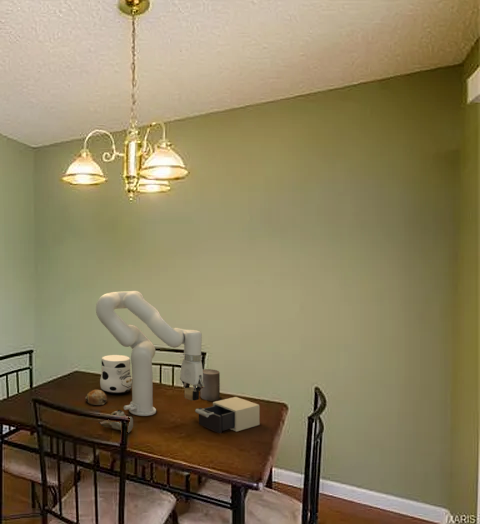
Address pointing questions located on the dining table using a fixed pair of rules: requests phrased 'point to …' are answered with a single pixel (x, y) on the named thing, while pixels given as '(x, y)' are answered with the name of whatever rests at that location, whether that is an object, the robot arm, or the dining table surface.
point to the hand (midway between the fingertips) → (191, 397)
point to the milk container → (116, 374)
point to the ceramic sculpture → (116, 424)
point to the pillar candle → (210, 385)
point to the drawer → (216, 418)
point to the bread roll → (96, 397)
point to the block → (189, 393)
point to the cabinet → (241, 412)
